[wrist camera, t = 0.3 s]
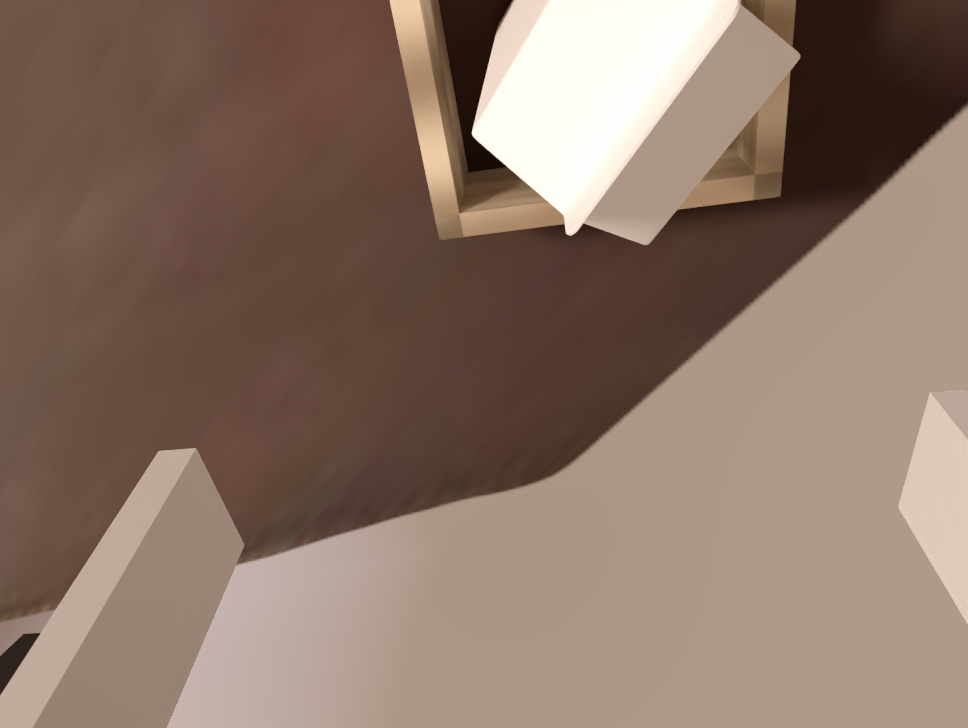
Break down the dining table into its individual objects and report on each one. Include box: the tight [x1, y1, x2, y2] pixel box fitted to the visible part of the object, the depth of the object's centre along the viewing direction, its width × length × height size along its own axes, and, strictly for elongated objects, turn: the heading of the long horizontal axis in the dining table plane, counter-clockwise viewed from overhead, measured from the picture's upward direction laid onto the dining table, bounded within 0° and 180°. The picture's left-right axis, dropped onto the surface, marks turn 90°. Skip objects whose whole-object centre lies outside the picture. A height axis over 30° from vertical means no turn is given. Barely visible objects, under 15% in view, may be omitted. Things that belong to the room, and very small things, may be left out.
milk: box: [472, 0, 800, 245], centre depth 24 cm, size 6×6×22 cm
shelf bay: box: [390, 0, 796, 240], centre depth 31 cm, size 15×16×6 cm
